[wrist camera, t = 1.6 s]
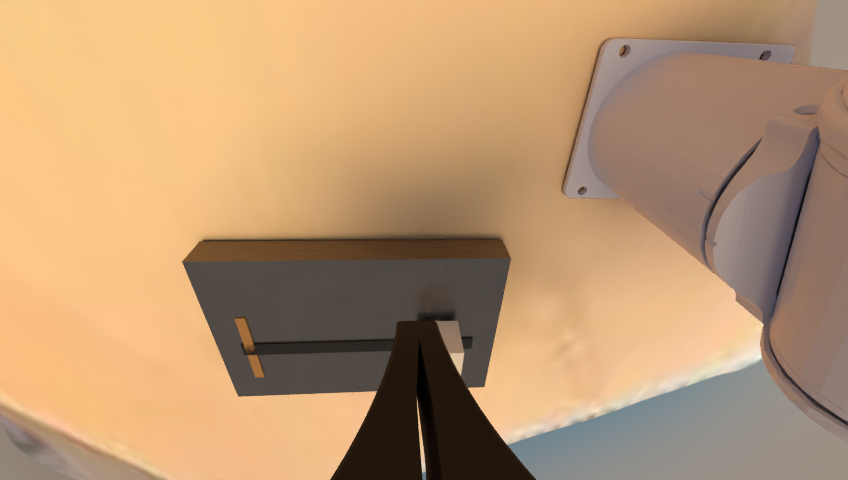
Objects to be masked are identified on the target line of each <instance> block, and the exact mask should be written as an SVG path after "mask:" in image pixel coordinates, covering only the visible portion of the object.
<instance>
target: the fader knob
mask: <svg viewBox="0 0 848 480" xmlns="http://www.w3.org/2000/svg"><path fill="white" fill-rule="evenodd" d="M435 322H437V324H438V327H439V330H440V333H441V336H442V338H443V341H444V343H445V345H446V348H447V350H448V352H449V354H450V356H451V358H452V360H453V362H454V364H455V366H456V368H457V370H458V372H459V374H460V376H461V372H462V365H463V358H464V349H463V344H462V339H461V334H460V329H459V324H458V321H435Z"/></svg>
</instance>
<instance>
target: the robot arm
mask: <svg viewBox="0 0 848 480" xmlns="http://www.w3.org/2000/svg"><path fill="white" fill-rule="evenodd" d="M624 45H625V46H626V51H625V53H624V54H623V55H622V56H620V55H619V51H620V49H621V47H623V46H624ZM763 52H764V55H763V57H762V58H761V59H760V56H761V54H762V53H763ZM794 55H795V48H794V46H792V45H784V44H758V43H732V42H707V41H681V40H655V39H630V38H611V39H609V40H607V41H606V42H605V43H604V44H603V45H602V47H601V50H600V53H599V57H598V61H597V64H596V68H595V72H594V75H593V79H592V83H591V87H590V90H589V94H588V98H587V101H586V105H585V109H584V112H583V116H582V120H581V124H580V127H579V131H578V135H577V138H576V142H575V146H574V149H573V153H572V157H571V161H570V164H569V168H568V172H567V175H566V179H565V183H564V186H563V193H564V194H565V196H567V197H568V198H583V199H623V200H624V201H625V202H627V203H628V204H629V205H630V206H632V207H633V208H634V209H635V210H636V211H638V212H639V213H640V214H641V215H643V216H644V217H645V218H646V219H648V220H649V221H650V222H651V223H653V224H654V225H655V226H656V227H657V228H659V229H660V230H661V231H662V232H664V233H665V234H666V235H667V236H669V237H670V238H671V239H672V240H673V241H675V242H676V243H677V244H678V245H680V246H681V247H682V248H683V249H685V250H686V251H687V252H688V253H690V254H691V255H692V256H693V257H694V258H696V259H697V260H698V261H699V262H701V263H702V264H703V265H704V266H706V267H707V268H708V269H709V270H710V271H712V272H713V273H715V274H716V275H717V276H718V277H719V278H720V279H722V280H723V281H724V282H725V283H726V284H728V285H729V286H730V287H731V288H733V289H734V290H735V292H736V301H737V302H738V303H739V304H740V305H742V306H743V307H744V308H745V309H746V310H748V311H749V312H750V313H751V314H752V315H754V316H755V317H756V318H757V319H758V320H760V321H761V322H762V323H763V324H764V326H763V329H762V334H761V340H760V347H761V354H762V358H763V361H764V363H765V365H766V368H767V370H768V372H769V374H770V375H771V377H772V378H773V380H774V382H775V383H776V385H777V386H778V387H779V388H780V389H781V391H782V392H783V393H784V394H785V395H786V396H787V397H788V398H789V400H790V401H791V402H793V403H794V404H795V405H796V406H797V407H798V408H799V409H800V410H802V412H804V413H805V414H806V415H807V416H808V417H810V418H811V419H813V420H814V421H815V422H816V423H818V424H819V425H821V426H822V427H823V428H825V429H826V430H827V431H829V432H831V433H832V434H834V435H836V436H837V437H839V438H841V439H842V440H844V441H845V442H847V443H848V71H845V70H837V69H829V68H820V67H813V66H804V65H796V64H790V63H791V61H792V59H793V57H794ZM759 59H760V60H759ZM581 187H584V189H583V190H582V191H581V192H578V190H579V188H581ZM417 400H418V408H419V416H420V423H421V431H422V439H423V446H424V454H425V465H426V480H536V479H535V478H534V477H533V476H532V474H531V473H530V472H529V471H528V470H527V469H526V468H525V466H524V465H523V464H522V463H521V462H520V460H519V459H518V458H517V457H516V455H515V454H514V453H513V452H512V451H511V449H510V448H509V447H508V446H507V444H506V443H505V442H504V441H503V439H502V438H501V437H500V435H499V434H498V433H497V431H496V430H495V429H494V427H493V426H492V425H491V423H490V422H489V420H488V419H487V418H486V416H485V415H484V413H483V412H482V410H481V409H480V407H479V406H478V404H477V403H476V401H475V399H474V398H473V396H472V395H471V393H470V391H469V390H468V388H467V386H466V385H465V383H464V381H463V379H462V378H461V376H460V374H459V372H458V370H457V368H456V366H455V364H454V362H453V360H452V358H451V356H450V354H449V352H448V350H447V348H446V345H445V343H444V341H443V338H442V336H441V333H440V330H439V327H438V324H437V322H435V321H399V322H398V323H397V325H396V334H395V339H394V344H393V348H392V351H391V355H390V358H389V361H388V364H387V367H386V370H385V373H384V376H383V378H382V381H381V383H380V386H379V388H378V391H377V393H376V396H375V398H374V400H373V402H372V405H371V407H370V409H369V411H368V413H367V415H366V417H365V419H364V421H363V423H362V425H361V427H360V429H359V431H358V433H357V435H356V437H355V439H354V440H353V442H352V444H351V446H350V448H349V450H348V451H347V453H346V455H345V457H344V458H343V460H342V462H341V463H340V465H339V466H338V468H337V470H336V471H335V473H334V475H333V476H332V478H331V479H330V480H422V468H421V455H420V442H419V429H418V414H417Z"/></svg>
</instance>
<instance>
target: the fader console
mask: <svg viewBox="0 0 848 480" xmlns="http://www.w3.org/2000/svg"><path fill="white" fill-rule="evenodd" d="M510 260H511V257H510V255H509V253H508V251H507V249H506V247H505V245H504V243H503V240H350V241H200V242H199V243H198V244H197V245H196V246H195V248H194V249H193V250H192V251H191V252H190V253H189V254H188V256H187V257H186V258H185V259H184V260H183V261H182V262H183V265H184V267H185V270H186V272H187V274H188V277H189V279H190V282H191V284H192V286H193V289H194V291H195V294H196V296H197V298H198V301H199V303H200V306H201V308H202V310H203V313H204V315H205V318H206V320H207V322H208V325H209V327H210V330H211V332H212V334H213V337H214V339H215V342H216V344H217V347H218V349H219V351H220V354H221V356H222V359H223V361H224V363H225V366H226V368H227V371H228V373H229V375H230V378H231V380H232V383H233V385H234V387H235V390H236V392H237V395H238V396H264V395H289V394H315V393H341V392H367V391H378V388H379V386H380V383H381V381H382V378H383V376H384V373H385V370H386V367H387V364H388V361H389V358H390V355H391V351H392V348H393V344H394V339H395V334H396V325H397V323H398V322H399V321H458V324H459V329H460V334H461V339H462V344H463V349H464V358H463V365H462V372H461V378H462V379H463V381H464V383H465V385H466V386H467V388H470V387H484V386H485V381H486V376H487V371H488V366H489V362H490V357H491V352H492V347H493V342H494V337H495V333H496V328H497V323H498V318H499V313H500V309H501V304H502V299H503V294H504V289H505V284H506V280H507V275H508V270H509V265H510Z"/></svg>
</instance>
